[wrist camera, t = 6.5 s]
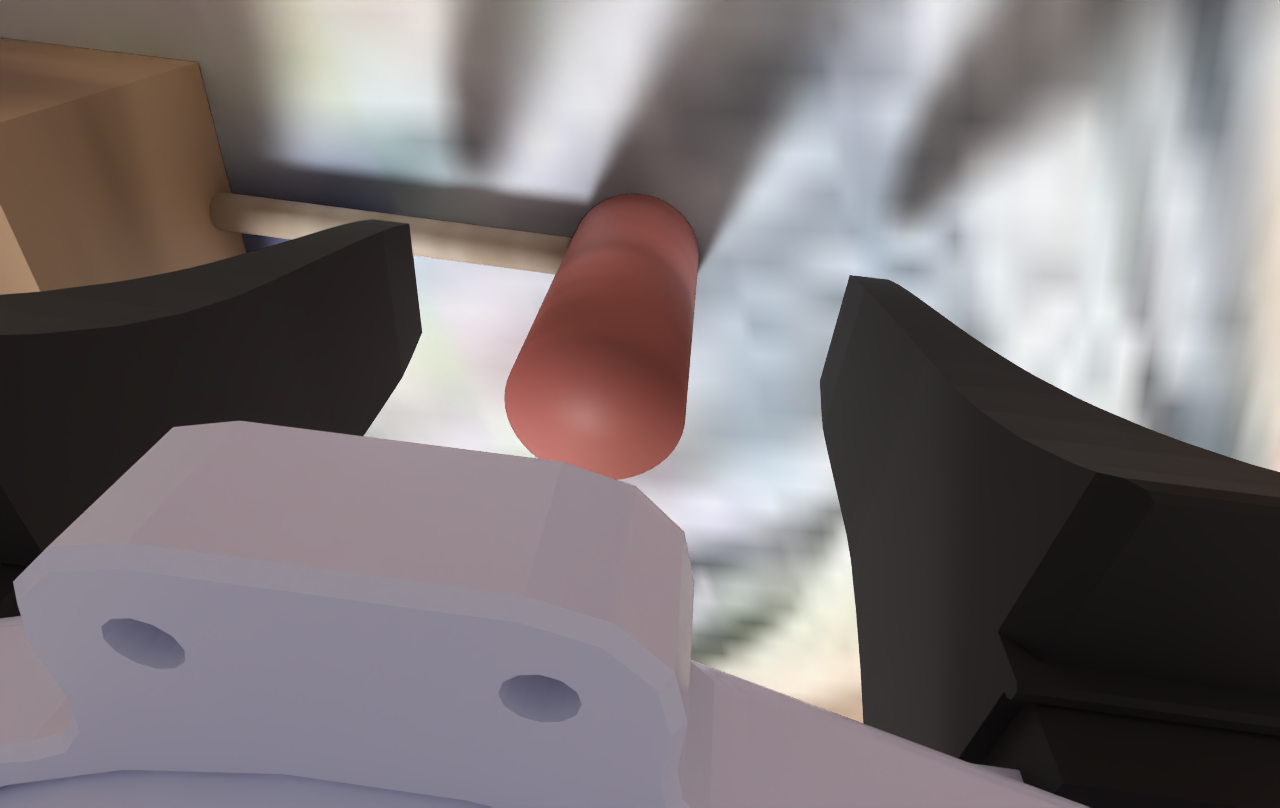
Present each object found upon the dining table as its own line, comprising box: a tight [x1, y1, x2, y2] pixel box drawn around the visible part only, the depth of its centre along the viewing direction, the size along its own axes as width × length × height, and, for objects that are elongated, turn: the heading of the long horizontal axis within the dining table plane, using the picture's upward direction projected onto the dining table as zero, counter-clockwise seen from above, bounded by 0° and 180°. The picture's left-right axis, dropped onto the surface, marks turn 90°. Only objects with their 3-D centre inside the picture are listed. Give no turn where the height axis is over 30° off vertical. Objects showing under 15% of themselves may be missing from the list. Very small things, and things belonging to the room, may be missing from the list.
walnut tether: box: [0, 38, 699, 480], centre depth 11 cm, size 14×5×5 cm, turn 85°
